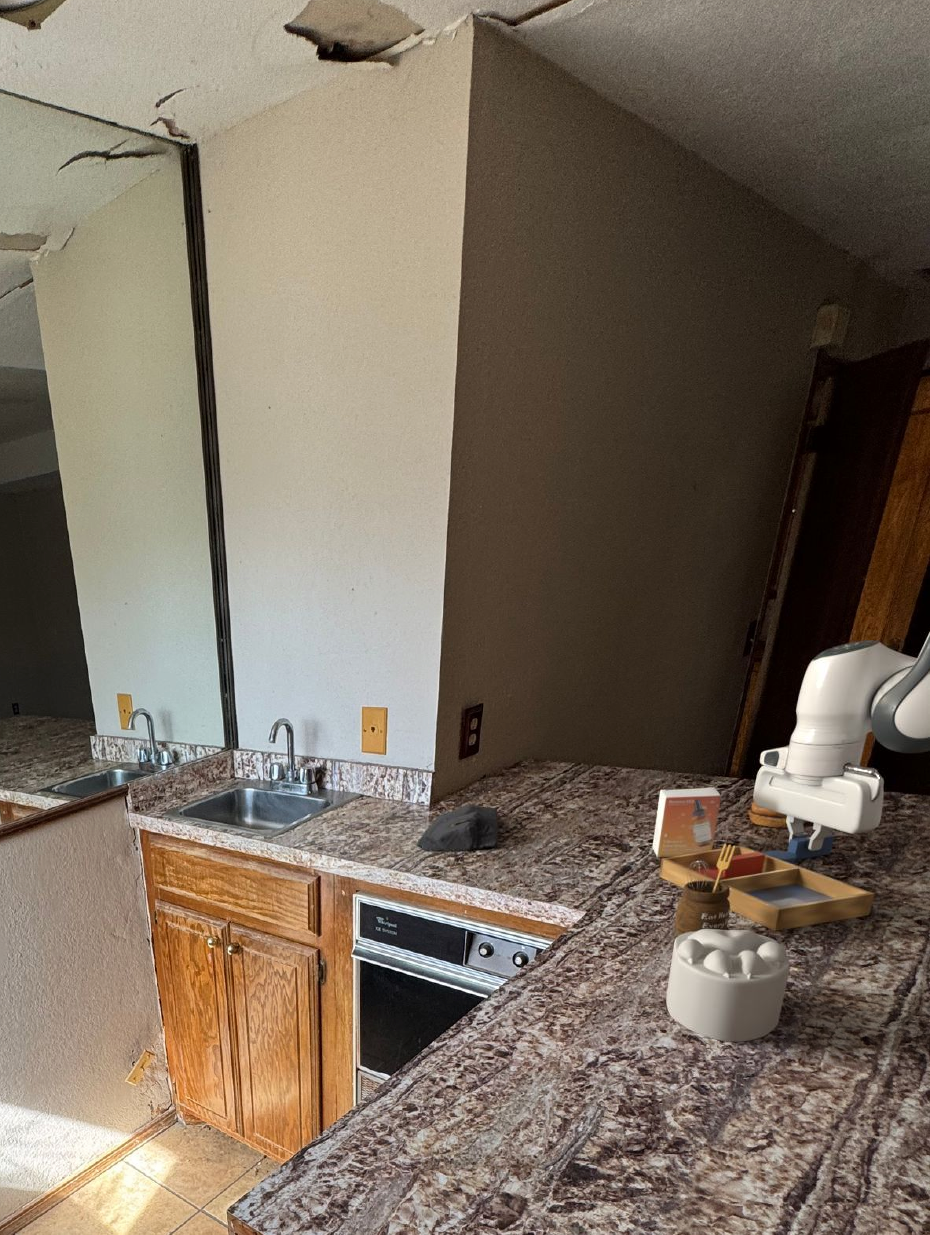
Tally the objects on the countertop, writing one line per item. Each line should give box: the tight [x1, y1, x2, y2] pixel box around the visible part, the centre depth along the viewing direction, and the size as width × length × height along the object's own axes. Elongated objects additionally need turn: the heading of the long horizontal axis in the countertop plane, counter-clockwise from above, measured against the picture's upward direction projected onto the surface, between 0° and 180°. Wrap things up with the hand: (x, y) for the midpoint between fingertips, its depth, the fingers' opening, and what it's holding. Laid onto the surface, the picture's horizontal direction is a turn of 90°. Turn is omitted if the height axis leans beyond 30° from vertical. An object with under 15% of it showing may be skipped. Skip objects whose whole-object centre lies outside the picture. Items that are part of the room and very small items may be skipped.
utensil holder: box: [674, 843, 737, 937], centre depth 103 cm, size 6×6×12 cm
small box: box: [652, 786, 722, 858], centre depth 131 cm, size 8×6×10 cm
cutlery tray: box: [658, 845, 875, 932], centre depth 114 cm, size 13×24×3 cm, turn 5°
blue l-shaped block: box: [762, 833, 836, 864], centre depth 124 cm, size 10×4×3 cm, turn 95°
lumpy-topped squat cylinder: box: [665, 929, 791, 1043], centre depth 87 cm, size 10×13×9 cm
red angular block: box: [696, 851, 765, 880], centre depth 119 cm, size 10×4×3 cm, turn 95°
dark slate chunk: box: [415, 804, 500, 852], centre depth 158 cm, size 15×22×5 cm
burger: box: [747, 801, 809, 829], centre depth 139 cm, size 10×9×5 cm
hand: (804, 846), depth 123 cm, fingers closed on blue l-shaped block
